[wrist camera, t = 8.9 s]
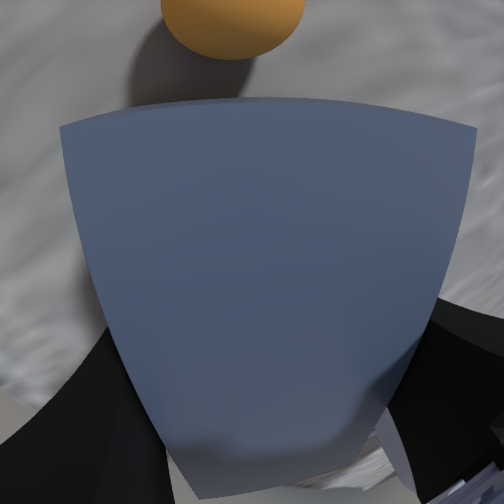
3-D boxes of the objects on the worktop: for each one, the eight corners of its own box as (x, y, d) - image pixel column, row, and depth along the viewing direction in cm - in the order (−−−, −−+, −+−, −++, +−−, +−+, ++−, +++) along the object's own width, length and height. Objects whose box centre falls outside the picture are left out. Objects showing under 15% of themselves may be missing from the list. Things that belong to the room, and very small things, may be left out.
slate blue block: (305, 369, 14) (350, 464, 9) (183, 390, 13) (199, 499, 8) (332, 100, 8) (477, 128, 4) (130, 107, 7) (60, 127, 3)
